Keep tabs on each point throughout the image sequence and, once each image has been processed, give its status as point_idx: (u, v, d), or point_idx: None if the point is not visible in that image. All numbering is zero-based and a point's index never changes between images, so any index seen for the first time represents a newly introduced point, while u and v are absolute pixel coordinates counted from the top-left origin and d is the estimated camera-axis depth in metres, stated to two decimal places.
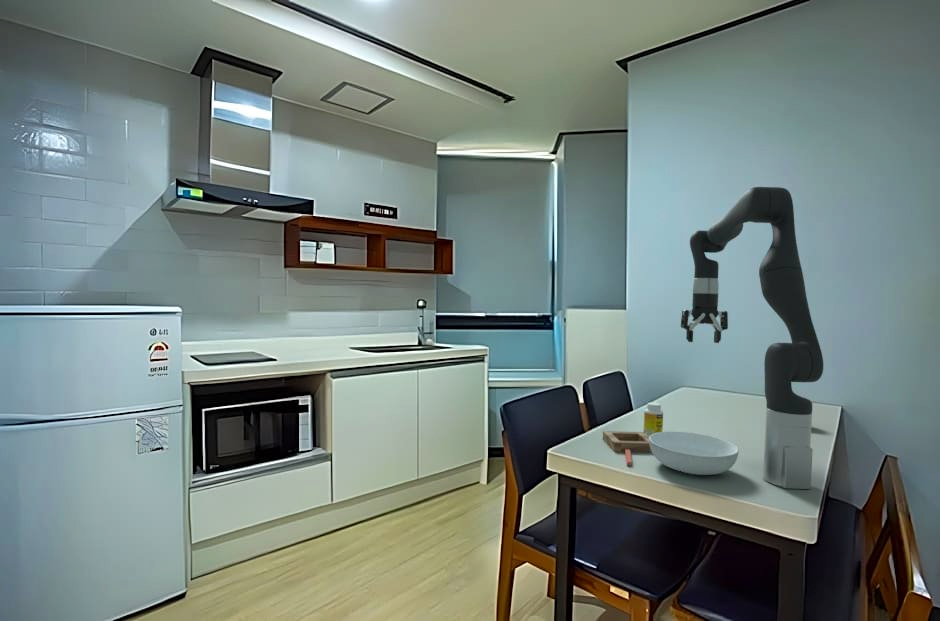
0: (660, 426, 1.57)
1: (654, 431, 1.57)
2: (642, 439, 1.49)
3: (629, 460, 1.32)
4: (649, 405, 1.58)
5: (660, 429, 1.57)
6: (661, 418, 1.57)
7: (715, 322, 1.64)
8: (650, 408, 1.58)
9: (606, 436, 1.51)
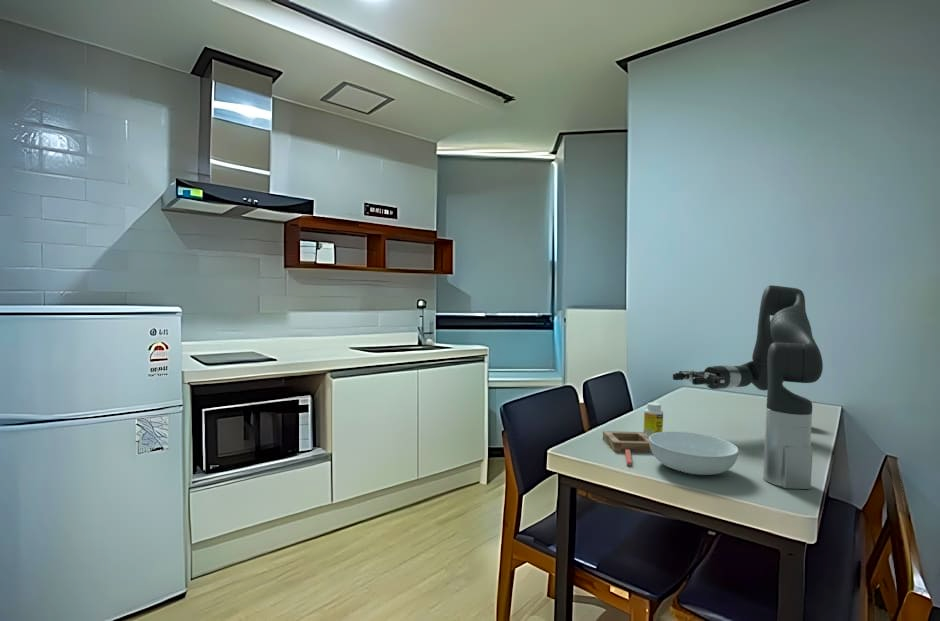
0: (660, 426, 1.57)
1: (654, 431, 1.57)
2: (642, 439, 1.49)
3: (629, 460, 1.32)
4: (649, 405, 1.58)
5: (660, 429, 1.57)
6: (661, 418, 1.57)
7: (706, 374, 1.62)
8: (650, 408, 1.58)
9: (606, 436, 1.51)
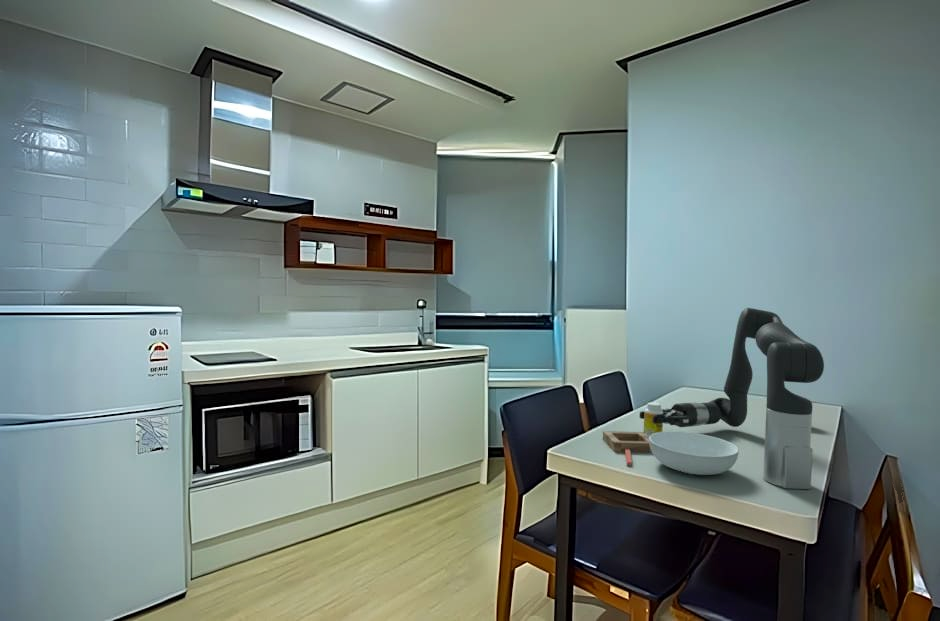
0: (660, 426, 1.57)
1: (654, 431, 1.57)
2: (642, 439, 1.49)
3: (629, 460, 1.32)
4: (649, 405, 1.58)
5: (660, 429, 1.57)
6: None
7: (670, 412, 1.59)
8: (650, 408, 1.58)
9: (606, 436, 1.51)
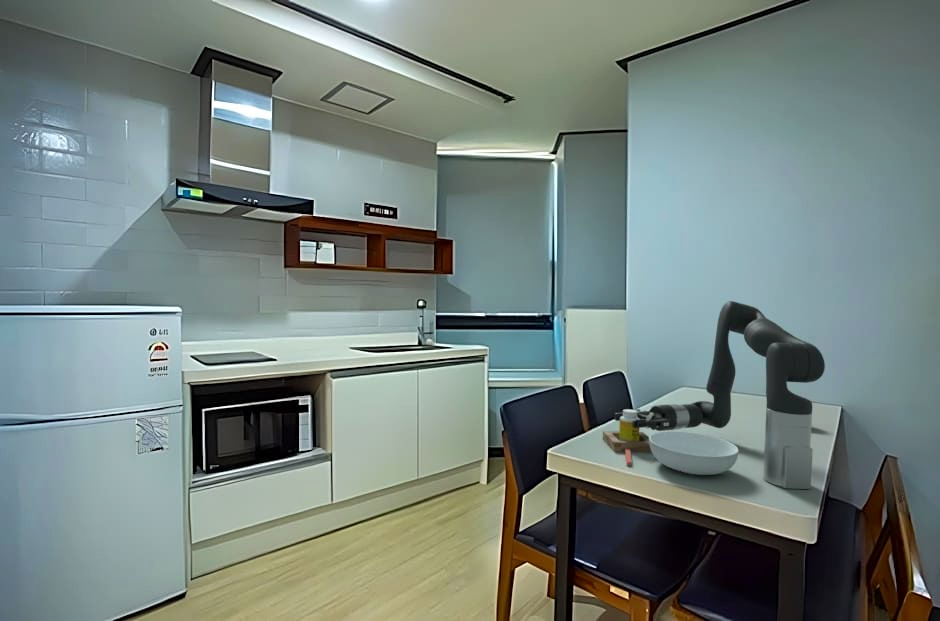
0: (636, 435, 1.46)
1: (630, 440, 1.46)
2: (642, 439, 1.49)
3: (629, 460, 1.32)
4: (625, 412, 1.48)
5: (636, 438, 1.46)
6: None
7: (649, 415, 1.47)
8: (626, 415, 1.47)
9: (606, 436, 1.51)
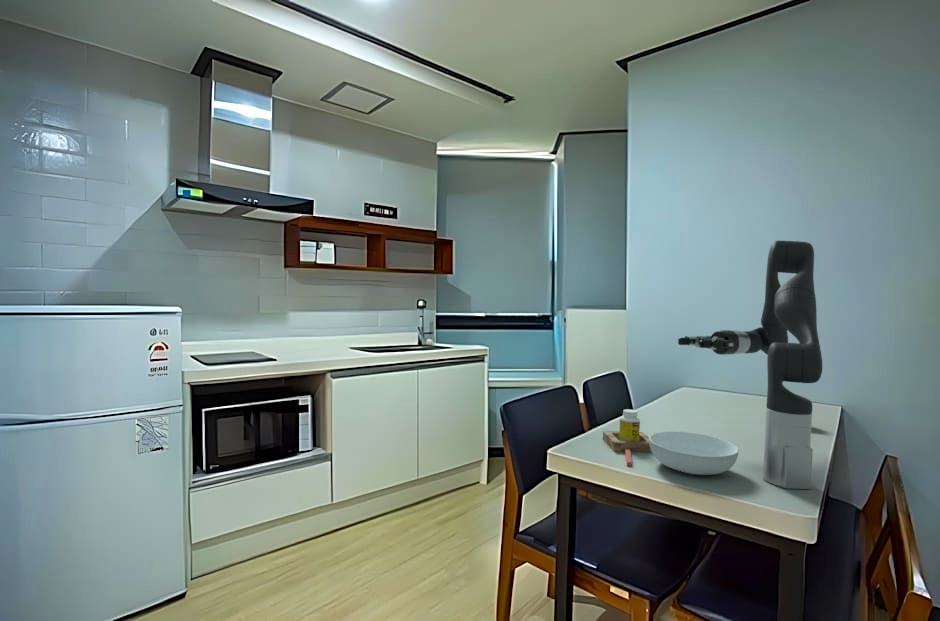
0: (636, 435, 1.46)
1: (630, 440, 1.46)
2: (642, 439, 1.49)
3: (629, 460, 1.32)
4: (625, 412, 1.48)
5: (636, 438, 1.46)
6: (637, 426, 1.46)
7: (714, 337, 1.54)
8: (626, 415, 1.47)
9: (606, 436, 1.51)
